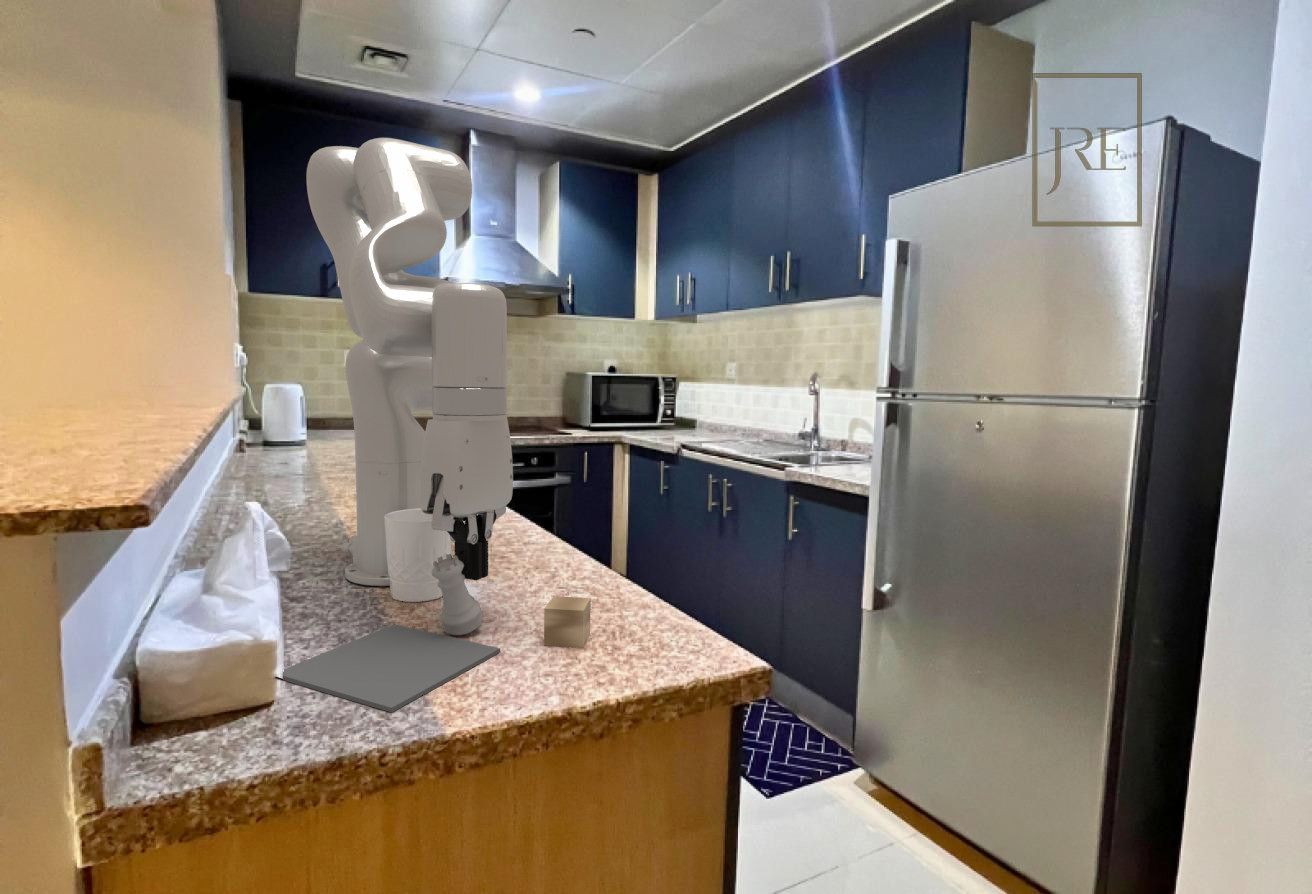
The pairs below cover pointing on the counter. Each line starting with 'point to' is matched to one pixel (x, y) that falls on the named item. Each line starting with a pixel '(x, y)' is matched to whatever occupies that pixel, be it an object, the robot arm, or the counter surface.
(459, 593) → the rook chess piece
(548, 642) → the oak block
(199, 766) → the counter surface
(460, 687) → the counter surface
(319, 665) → the mat
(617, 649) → the counter surface
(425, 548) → the white cup
